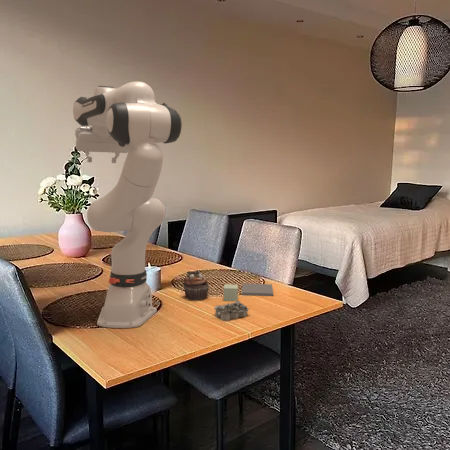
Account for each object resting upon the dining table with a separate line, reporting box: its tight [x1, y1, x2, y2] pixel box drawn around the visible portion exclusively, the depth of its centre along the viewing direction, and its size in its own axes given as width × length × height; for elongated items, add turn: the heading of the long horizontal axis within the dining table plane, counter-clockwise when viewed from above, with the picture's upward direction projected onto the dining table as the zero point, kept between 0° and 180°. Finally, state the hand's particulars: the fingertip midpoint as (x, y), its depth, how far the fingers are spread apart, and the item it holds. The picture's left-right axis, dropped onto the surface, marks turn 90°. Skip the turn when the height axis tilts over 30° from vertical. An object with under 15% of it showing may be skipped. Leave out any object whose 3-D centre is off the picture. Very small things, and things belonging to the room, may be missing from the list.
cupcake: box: [182, 269, 210, 302], centre depth 172 cm, size 10×10×10 cm
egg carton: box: [213, 300, 250, 322], centre depth 154 cm, size 11×8×4 cm
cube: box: [223, 283, 239, 303], centre depth 170 cm, size 5×5×5 cm
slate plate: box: [241, 283, 274, 297], centre depth 181 cm, size 12×12×1 cm
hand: (101, 162), depth 183 cm, fingers open, 8 cm apart
